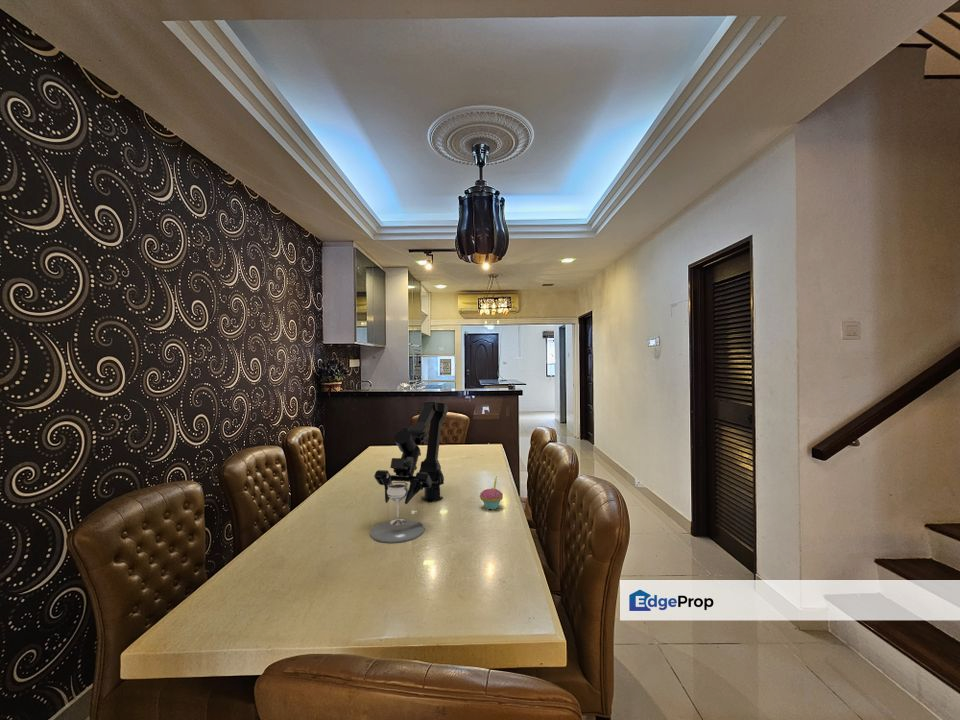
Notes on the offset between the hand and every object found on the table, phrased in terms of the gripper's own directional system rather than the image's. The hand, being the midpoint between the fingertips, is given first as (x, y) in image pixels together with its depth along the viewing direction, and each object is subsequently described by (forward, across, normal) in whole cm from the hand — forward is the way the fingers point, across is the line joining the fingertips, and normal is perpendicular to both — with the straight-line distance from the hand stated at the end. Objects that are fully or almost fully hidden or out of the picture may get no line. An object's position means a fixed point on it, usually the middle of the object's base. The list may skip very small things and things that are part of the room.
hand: (395, 502), depth 134 cm
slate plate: (+6, 0, +8) cm, 10 cm away
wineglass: (+4, 0, +6) cm, 7 cm away
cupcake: (-13, +25, +27) cm, 39 cm away
